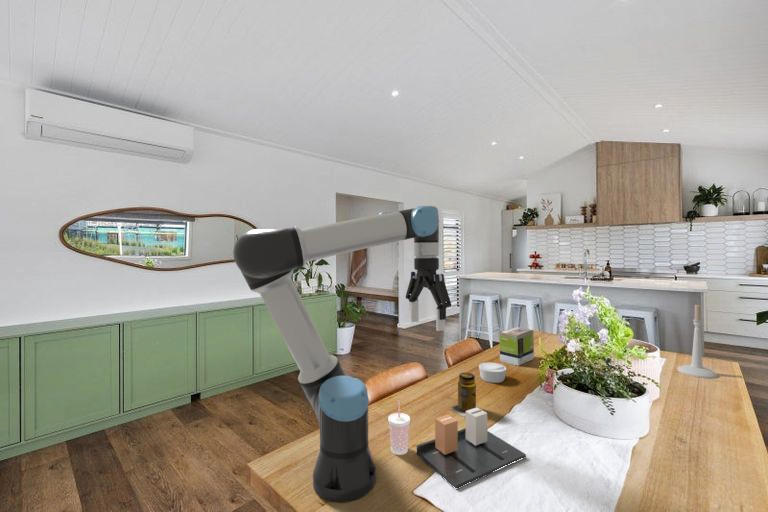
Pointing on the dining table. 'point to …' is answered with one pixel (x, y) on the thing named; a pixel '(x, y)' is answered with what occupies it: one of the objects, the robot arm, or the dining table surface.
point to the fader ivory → (476, 426)
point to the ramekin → (492, 372)
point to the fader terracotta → (446, 434)
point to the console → (469, 458)
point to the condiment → (465, 394)
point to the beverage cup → (399, 432)
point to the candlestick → (697, 352)
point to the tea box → (516, 345)
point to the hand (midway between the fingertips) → (426, 325)
